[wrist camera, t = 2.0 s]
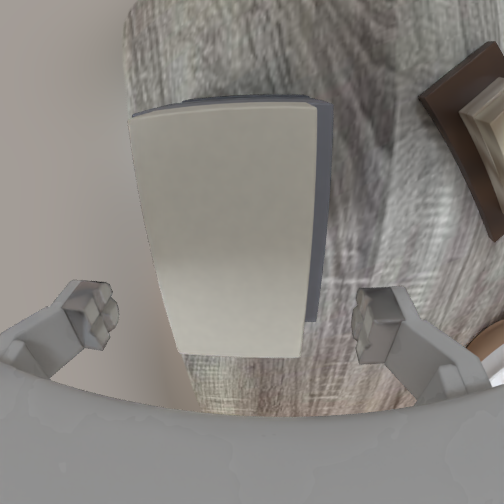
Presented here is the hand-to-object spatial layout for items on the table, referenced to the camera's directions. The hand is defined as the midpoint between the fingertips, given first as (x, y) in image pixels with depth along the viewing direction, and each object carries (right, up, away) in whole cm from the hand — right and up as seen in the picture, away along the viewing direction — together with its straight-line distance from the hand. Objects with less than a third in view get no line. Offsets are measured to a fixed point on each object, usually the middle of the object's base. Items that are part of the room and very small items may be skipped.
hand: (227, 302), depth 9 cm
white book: (0, +2, +4) cm, 5 cm away
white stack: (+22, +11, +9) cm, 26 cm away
